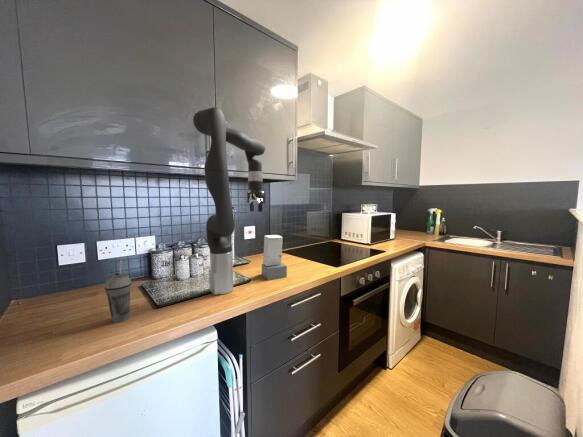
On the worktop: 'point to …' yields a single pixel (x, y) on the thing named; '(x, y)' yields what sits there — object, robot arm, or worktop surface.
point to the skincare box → (272, 250)
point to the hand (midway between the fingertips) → (256, 211)
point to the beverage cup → (118, 295)
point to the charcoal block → (274, 271)
